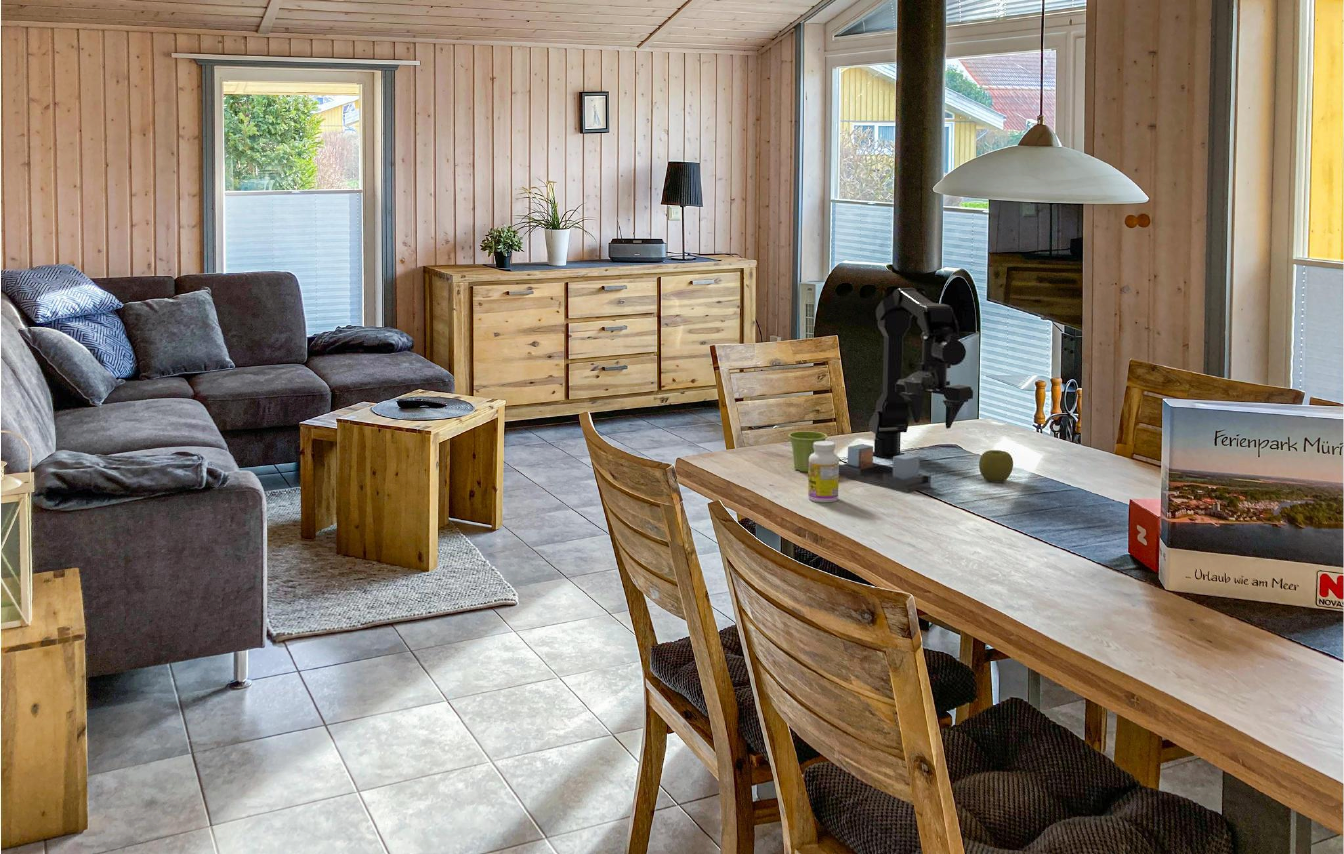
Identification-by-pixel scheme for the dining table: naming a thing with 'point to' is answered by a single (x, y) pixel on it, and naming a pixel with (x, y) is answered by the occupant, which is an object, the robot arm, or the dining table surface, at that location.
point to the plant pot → (804, 447)
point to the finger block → (906, 466)
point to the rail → (878, 471)
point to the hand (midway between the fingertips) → (932, 425)
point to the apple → (995, 465)
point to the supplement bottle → (823, 473)
